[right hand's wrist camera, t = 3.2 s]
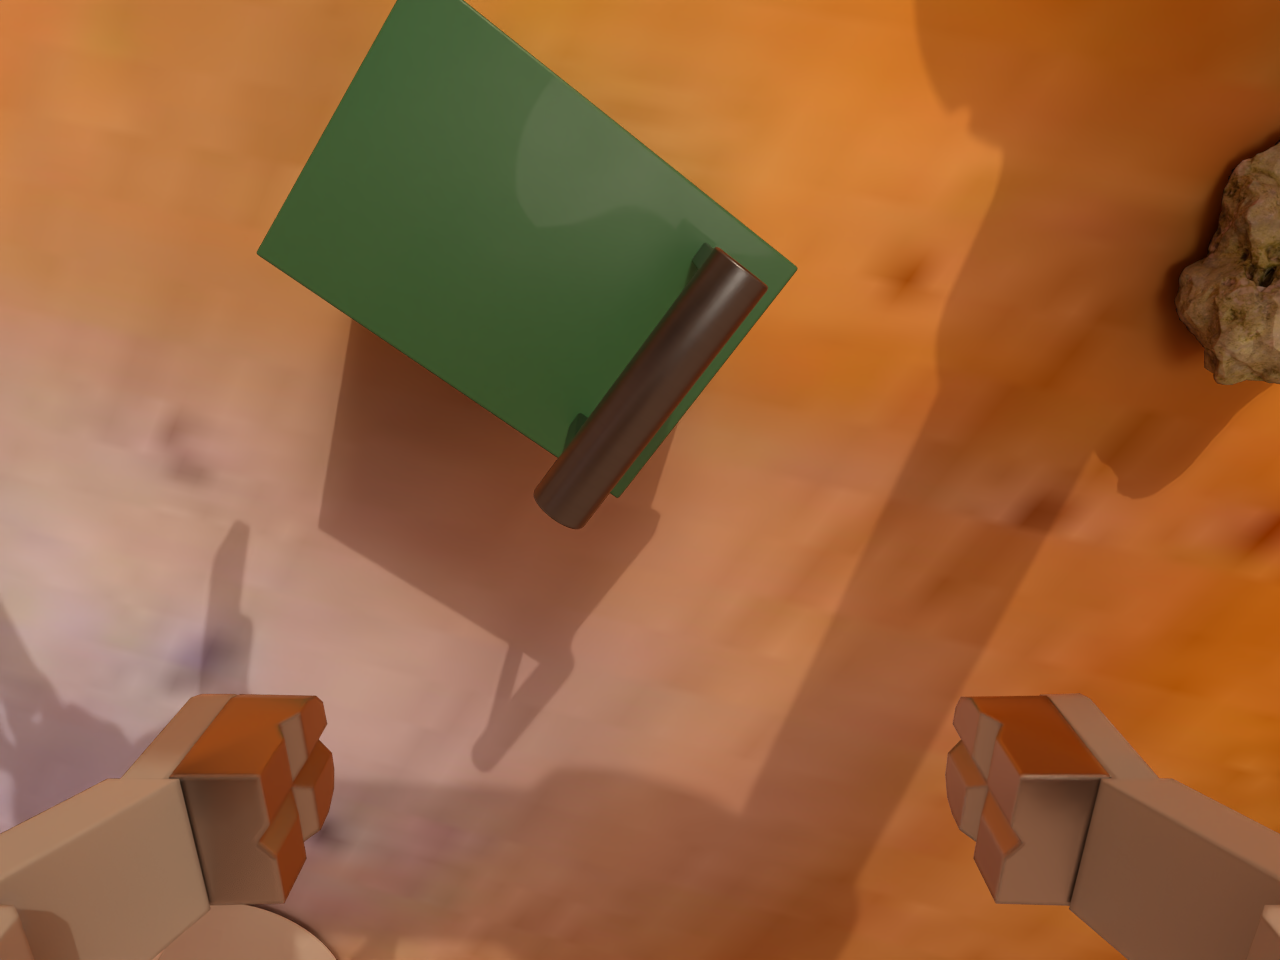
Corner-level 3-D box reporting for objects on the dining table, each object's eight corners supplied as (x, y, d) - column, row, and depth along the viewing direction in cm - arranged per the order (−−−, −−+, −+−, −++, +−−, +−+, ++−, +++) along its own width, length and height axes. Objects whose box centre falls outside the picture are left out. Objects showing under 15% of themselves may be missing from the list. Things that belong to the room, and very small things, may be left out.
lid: (793, 265, 27) (859, 302, 19) (618, 489, 29) (614, 601, 22) (424, -29, 24) (326, -126, 16) (267, 251, 26) (118, 283, 19)
